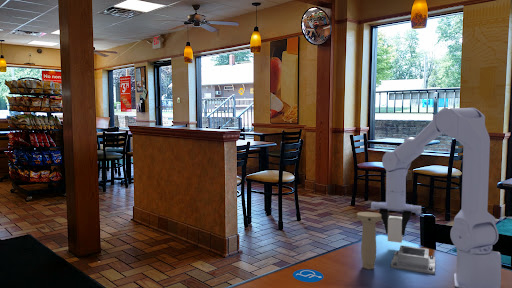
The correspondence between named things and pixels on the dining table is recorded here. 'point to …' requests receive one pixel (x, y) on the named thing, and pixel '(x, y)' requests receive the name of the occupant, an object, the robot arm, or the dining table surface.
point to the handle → (368, 238)
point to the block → (395, 229)
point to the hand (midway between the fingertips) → (395, 233)
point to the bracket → (414, 260)
